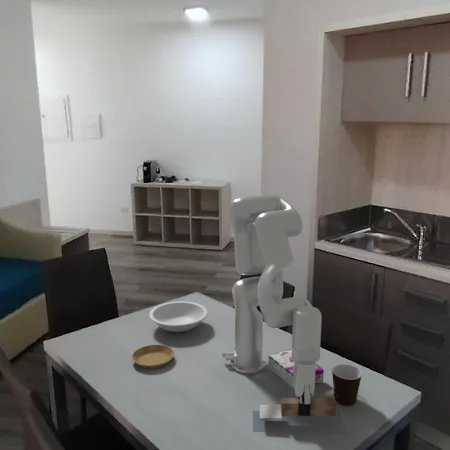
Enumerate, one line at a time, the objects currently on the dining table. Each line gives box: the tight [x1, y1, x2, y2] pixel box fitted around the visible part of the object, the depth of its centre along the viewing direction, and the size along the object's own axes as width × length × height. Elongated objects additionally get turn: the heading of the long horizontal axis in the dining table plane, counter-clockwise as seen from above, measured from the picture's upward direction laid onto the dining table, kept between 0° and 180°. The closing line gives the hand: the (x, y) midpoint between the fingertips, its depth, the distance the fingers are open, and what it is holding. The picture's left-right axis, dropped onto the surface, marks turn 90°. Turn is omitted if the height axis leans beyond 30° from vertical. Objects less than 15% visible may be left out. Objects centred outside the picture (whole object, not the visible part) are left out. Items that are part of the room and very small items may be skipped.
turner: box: [259, 397, 337, 421], centre depth 126 cm, size 21×6×4 cm, turn 87°
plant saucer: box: [131, 344, 175, 370], centre depth 161 cm, size 15×15×3 cm
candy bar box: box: [267, 348, 325, 389], centre depth 151 cm, size 11×5×16 cm
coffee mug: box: [331, 363, 363, 407], centre depth 138 cm, size 12×9×10 cm
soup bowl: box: [148, 300, 209, 333], centre depth 186 cm, size 24×24×7 cm
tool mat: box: [252, 410, 347, 436], centre depth 127 cm, size 25×9×1 cm, turn 87°
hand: (303, 411), depth 126 cm, fingers closed on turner, 2 cm apart
